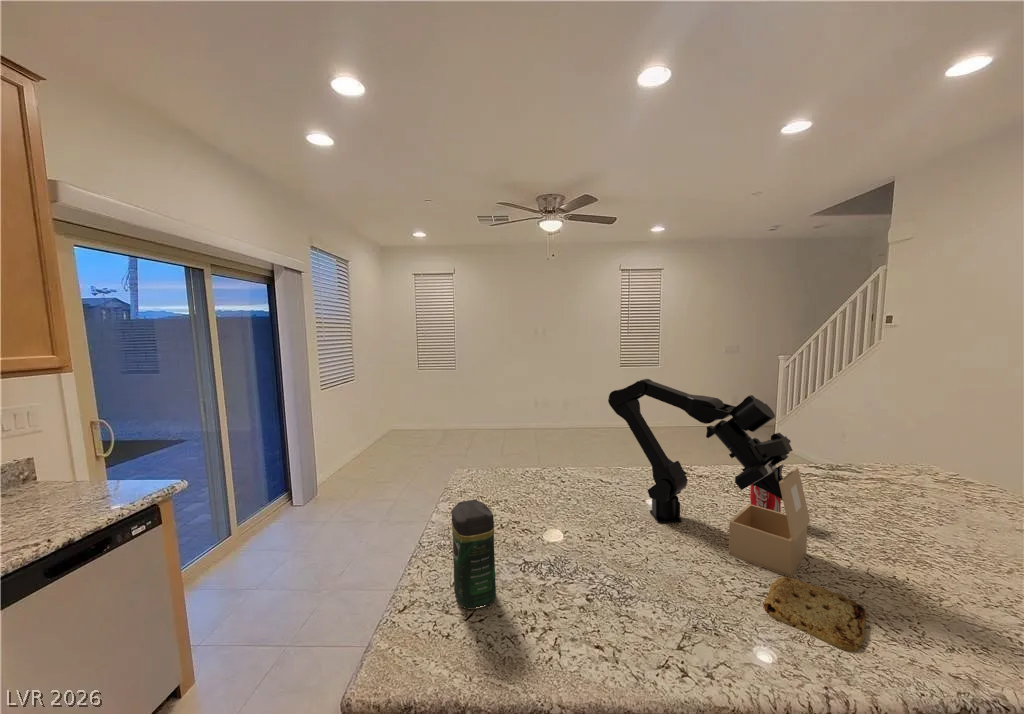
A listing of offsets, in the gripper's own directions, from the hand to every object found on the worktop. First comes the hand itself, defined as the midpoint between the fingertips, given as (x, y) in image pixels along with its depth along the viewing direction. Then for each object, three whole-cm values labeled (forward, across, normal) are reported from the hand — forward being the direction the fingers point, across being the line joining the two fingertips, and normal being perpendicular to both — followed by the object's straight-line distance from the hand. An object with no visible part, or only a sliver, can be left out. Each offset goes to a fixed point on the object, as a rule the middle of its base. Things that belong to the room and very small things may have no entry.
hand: (792, 502), depth 87 cm
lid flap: (0, 0, 0) cm, 0 cm away
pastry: (+16, -15, +5) cm, 22 cm away
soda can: (+3, +19, +17) cm, 26 cm away
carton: (+7, 0, +13) cm, 15 cm away
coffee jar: (-18, -58, +38) cm, 72 cm away
